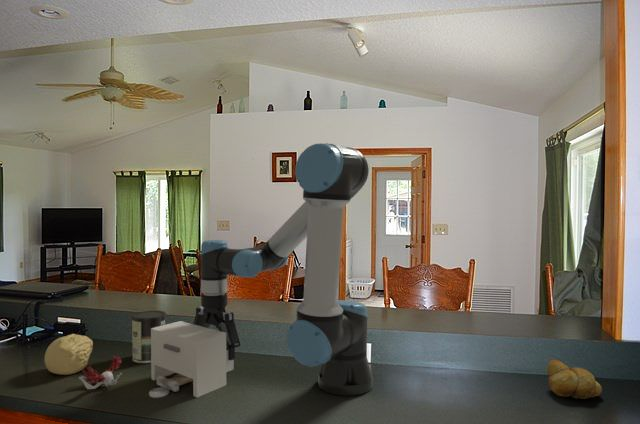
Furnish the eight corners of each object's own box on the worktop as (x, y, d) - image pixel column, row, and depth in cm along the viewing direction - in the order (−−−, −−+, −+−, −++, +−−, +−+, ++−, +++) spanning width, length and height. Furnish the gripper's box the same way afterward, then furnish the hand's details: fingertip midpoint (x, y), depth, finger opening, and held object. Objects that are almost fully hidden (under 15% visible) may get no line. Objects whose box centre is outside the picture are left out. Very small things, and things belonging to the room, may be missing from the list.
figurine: (96, 374, 136) (96, 352, 136) (134, 376, 135) (134, 353, 135) (62, 396, 121) (62, 371, 121) (105, 399, 120) (105, 373, 120)
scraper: (227, 372, 137) (227, 339, 137) (174, 391, 123) (175, 353, 123) (209, 366, 142) (209, 334, 142) (156, 384, 128) (157, 347, 127)
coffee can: (172, 353, 154) (172, 311, 154) (155, 364, 144) (154, 319, 144) (144, 351, 156) (143, 309, 156) (125, 362, 146) (124, 317, 146)
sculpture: (73, 380, 132) (73, 342, 132) (35, 377, 134) (35, 339, 134) (99, 365, 143) (98, 330, 143) (63, 363, 145) (63, 328, 145)
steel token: (168, 390, 126) (168, 386, 126) (169, 397, 122) (169, 393, 122) (149, 392, 125) (149, 388, 125) (148, 400, 120) (148, 396, 120)
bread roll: (598, 391, 126) (599, 362, 125) (606, 406, 117) (607, 374, 116) (545, 384, 130) (546, 355, 130) (549, 398, 121) (549, 367, 121)
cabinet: (226, 385, 129) (226, 332, 128) (194, 398, 120) (194, 342, 120) (180, 368, 141) (180, 320, 140) (148, 380, 132) (148, 329, 131)
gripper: (252, 296, 133) (253, 371, 134) (197, 286, 148) (198, 353, 148) (233, 300, 127) (233, 379, 128) (177, 289, 142) (178, 360, 142)
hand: (214, 365), depth 138 cm, fingers open, 12 cm apart
